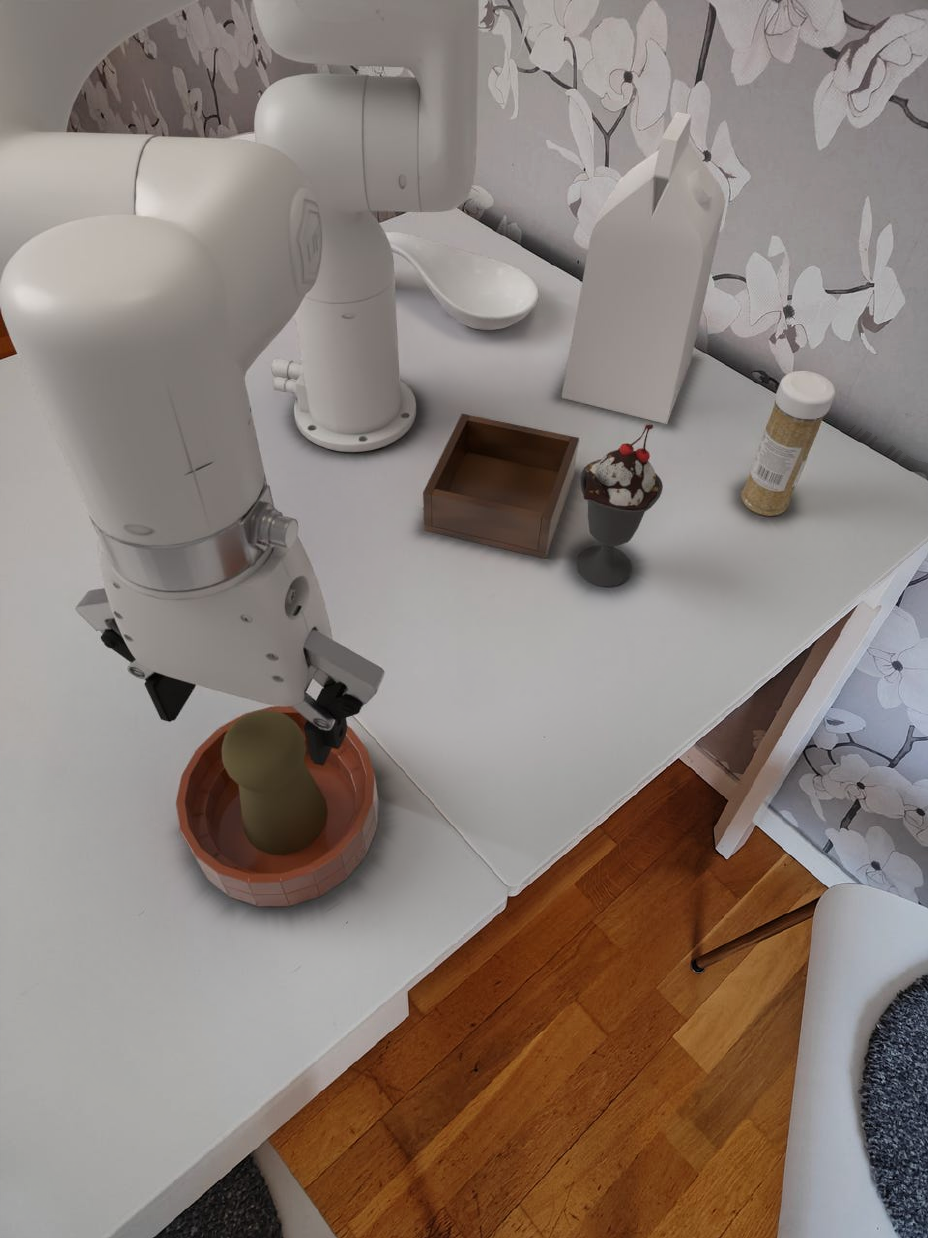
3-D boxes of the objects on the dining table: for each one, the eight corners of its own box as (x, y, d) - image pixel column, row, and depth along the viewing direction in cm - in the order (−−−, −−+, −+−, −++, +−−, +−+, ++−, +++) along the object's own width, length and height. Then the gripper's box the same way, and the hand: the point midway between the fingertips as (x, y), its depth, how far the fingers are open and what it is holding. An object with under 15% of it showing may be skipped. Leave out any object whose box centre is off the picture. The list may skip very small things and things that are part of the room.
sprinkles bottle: (797, 506, 83) (848, 389, 73) (763, 524, 82) (810, 408, 71) (763, 478, 86) (807, 362, 75) (729, 495, 84) (769, 379, 73)
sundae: (647, 549, 79) (682, 417, 68) (632, 602, 75) (665, 472, 64) (577, 531, 81) (599, 399, 69) (558, 582, 77) (578, 451, 65)
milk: (592, 337, 100) (629, 89, 80) (691, 360, 98) (755, 110, 77) (561, 397, 93) (593, 142, 73) (666, 423, 91) (730, 167, 70)
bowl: (157, 875, 60) (139, 848, 56) (243, 718, 68) (232, 686, 64) (336, 933, 57) (329, 908, 54) (403, 764, 65) (401, 733, 62)
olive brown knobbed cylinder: (245, 780, 64) (214, 698, 55) (328, 774, 64) (310, 692, 56) (239, 858, 60) (204, 783, 52) (327, 852, 61) (307, 776, 52)
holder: (424, 530, 80) (422, 492, 77) (461, 451, 87) (461, 412, 84) (545, 559, 78) (550, 521, 75) (573, 475, 85) (579, 437, 82)
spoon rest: (548, 301, 105) (554, 243, 99) (518, 355, 98) (522, 296, 92) (369, 262, 110) (365, 205, 104) (328, 311, 103) (321, 253, 97)
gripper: (398, 501, 39) (410, 709, 53) (64, 425, 42) (155, 640, 56) (334, 624, 35) (365, 818, 48) (-35, 529, 38) (90, 736, 51)
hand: (252, 722), depth 52 cm, fingers open, 9 cm apart
